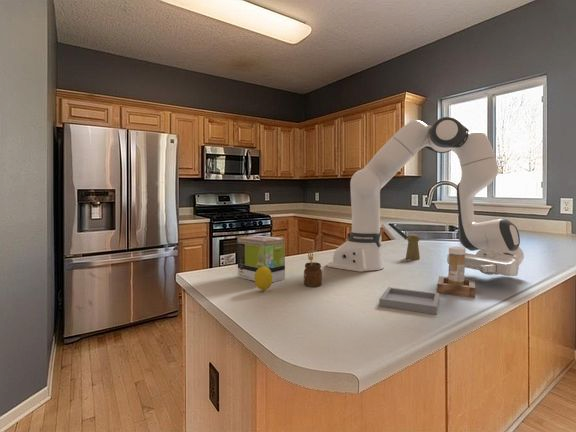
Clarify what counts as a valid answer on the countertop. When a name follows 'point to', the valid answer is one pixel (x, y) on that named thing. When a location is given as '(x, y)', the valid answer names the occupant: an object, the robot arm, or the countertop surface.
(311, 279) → the utensil holder
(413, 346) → the countertop surface
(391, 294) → the tray
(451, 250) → the sprinkles bottle
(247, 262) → the tea box
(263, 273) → the lemon
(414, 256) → the olive tapered container
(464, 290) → the square wooden box
